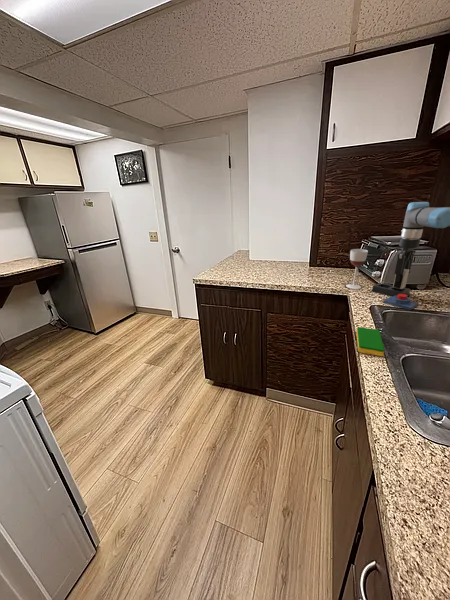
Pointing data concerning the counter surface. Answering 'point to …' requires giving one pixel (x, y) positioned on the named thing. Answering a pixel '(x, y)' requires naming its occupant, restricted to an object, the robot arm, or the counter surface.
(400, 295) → the switch
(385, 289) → the adapter
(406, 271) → the block
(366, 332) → the dish sponge
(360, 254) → the wineglass
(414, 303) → the switchbox
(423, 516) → the counter surface
